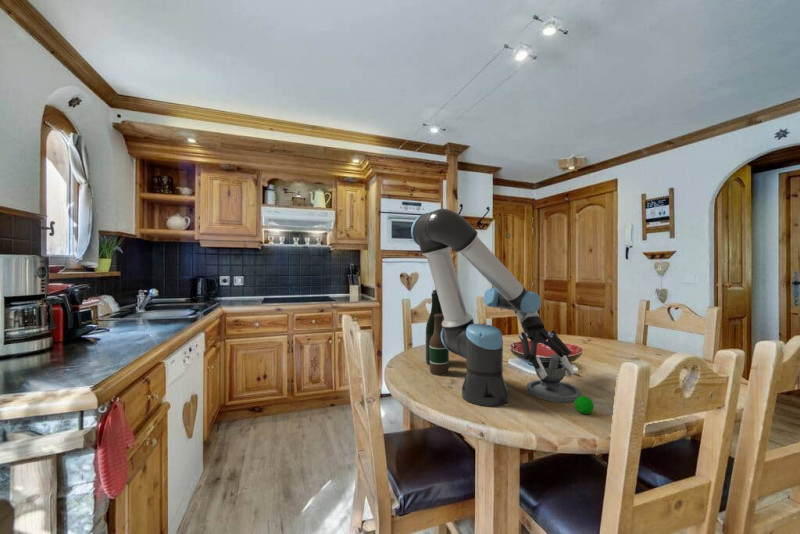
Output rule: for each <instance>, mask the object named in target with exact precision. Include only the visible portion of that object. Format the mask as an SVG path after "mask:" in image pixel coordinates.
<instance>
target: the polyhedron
mask: <svg viewBox="0 0 800 534" xmlns="http://www.w3.org/2000/svg"><path fill="white" fill-rule="evenodd" d="M574 407H575V409H576V410H577V412H579V413H580V414H582V415H588V414H591V413H592V412H593V411H594V408H595V405H594V402H593V401H592V399H591V398H590V397H588V396H585V395H581V396H580V397H577V399H576V400H575V401H574Z"/></svg>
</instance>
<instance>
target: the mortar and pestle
mask: <svg viewBox="0 0 800 534" xmlns="http://www.w3.org/2000/svg"><path fill="white" fill-rule="evenodd" d="M560 359H561V357H560V356H559V355H558V354H556V353H552V354H551V355H550V361H547V360H543V361H542V360H540V361H541V363H542V365H543V367H544V369H545V371H546V373H547V376H546V377H545V378H544V379H542V378H541V376H540V374H539V372H538V370H537V369H535V368H534V371H535V373H536V375H537V377H538V378H539V380H541V381H540V384H541V385H542V386H544V387H547V388H559V387H560V382H562V380H563V379H564V378H565V376H566V373H567V371H566V367H565V366H564V365H563V364H562V363H561V362H560V363H559V361H561V360H560Z"/></svg>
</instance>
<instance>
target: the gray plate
mask: <svg viewBox="0 0 800 534" xmlns="http://www.w3.org/2000/svg"><path fill="white" fill-rule="evenodd" d="M540 381H541V379H534V380H531V381H529V382H527V383H526V388H527V389H526V391H527V393H528V394H530V395H532V396H533V397H535V398H538V399H541V400H544V401H547V402H555V403H572V402H574V403H575V400H576V399H577V397H580V396H582V392H581V390H580V389H579V388H578V387H576V386H574V385H573V384H570V383H568V382H564V381H560V387H559V388H547V387H544V386H542V385H541V384H540Z"/></svg>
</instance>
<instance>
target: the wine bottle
mask: <svg viewBox="0 0 800 534" xmlns="http://www.w3.org/2000/svg"><path fill="white" fill-rule="evenodd" d="M435 314H442V315H443V312H442V309H441V305H440V302H439V298H438V295H437V291H436V289H432V292H431V307H430V313H429V315H428V316H429V317H428V319H427V320H426V321H427V322H426V326H425V351H424V352H425V353H424V354H425V355H424V356H425V363H426V364H427V365H428V366H430V352H429V345H430V339H431V337H432V335H433V334H434V323H435V317H434V315H435ZM443 320H444V316H443Z"/></svg>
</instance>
